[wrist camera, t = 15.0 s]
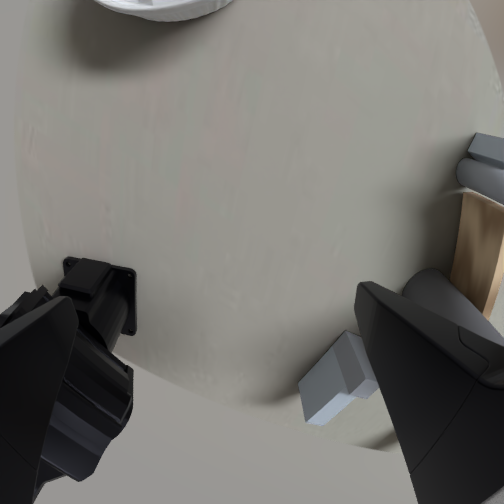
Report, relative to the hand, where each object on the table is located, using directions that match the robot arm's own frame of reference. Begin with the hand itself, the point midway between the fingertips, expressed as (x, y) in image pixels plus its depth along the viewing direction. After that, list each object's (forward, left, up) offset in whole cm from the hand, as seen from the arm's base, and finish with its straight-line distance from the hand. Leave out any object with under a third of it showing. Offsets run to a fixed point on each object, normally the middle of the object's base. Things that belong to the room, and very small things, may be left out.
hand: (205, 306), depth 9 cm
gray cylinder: (-5, -19, -13) cm, 23 cm away
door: (-2, -22, -12) cm, 25 cm away
